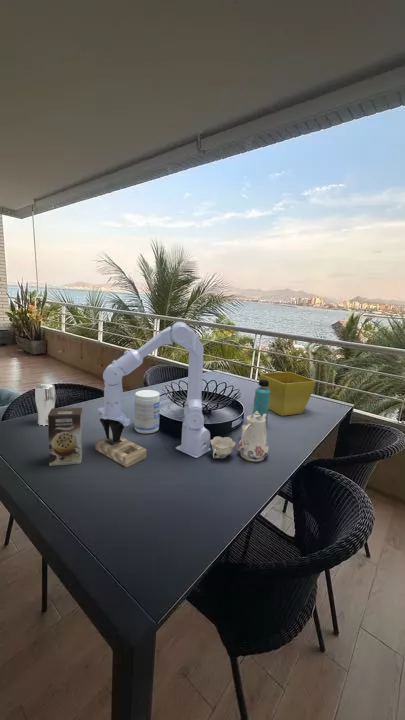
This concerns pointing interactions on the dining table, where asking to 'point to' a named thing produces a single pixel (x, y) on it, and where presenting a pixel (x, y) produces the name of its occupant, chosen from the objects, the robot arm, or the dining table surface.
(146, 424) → the supplement tub
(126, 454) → the hole block
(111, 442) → the peg
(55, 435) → the coffee box
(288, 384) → the flower pot
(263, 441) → the chinaware
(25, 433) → the dining table surface
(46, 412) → the beer glass
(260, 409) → the beverage bottle
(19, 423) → the dining table surface
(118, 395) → the robot arm
